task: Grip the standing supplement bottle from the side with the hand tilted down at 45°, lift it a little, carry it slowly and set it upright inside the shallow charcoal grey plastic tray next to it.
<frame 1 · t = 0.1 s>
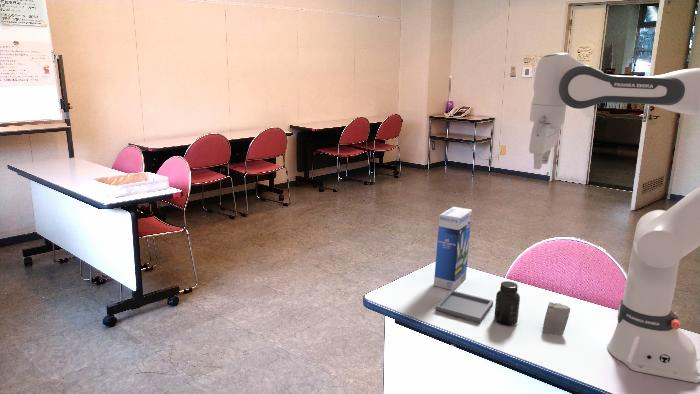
hand: (540, 166, 144), 48 cm above the table, tool pointing down, fingers open, 8 cm apart
mineral specimen: (552, 329, 154), on the table
string lights box: (449, 282, 184), on the table
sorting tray: (464, 308, 164), on the table
supplement bottle: (505, 321, 157), on the table
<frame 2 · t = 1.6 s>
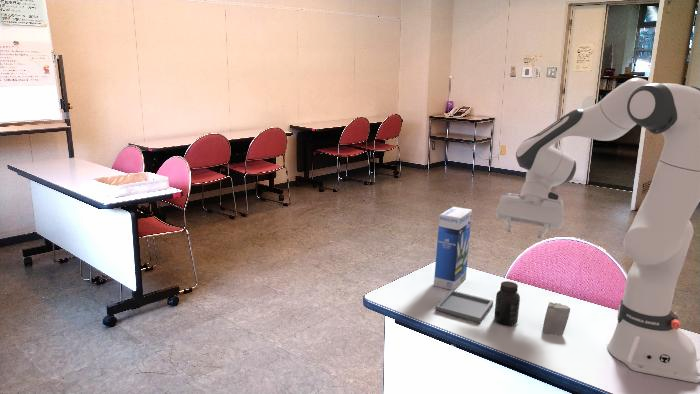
hand: (524, 234, 162), 24 cm above the table, tool tilted 45°, fingers open, 8 cm apart
nothing on the table moved.
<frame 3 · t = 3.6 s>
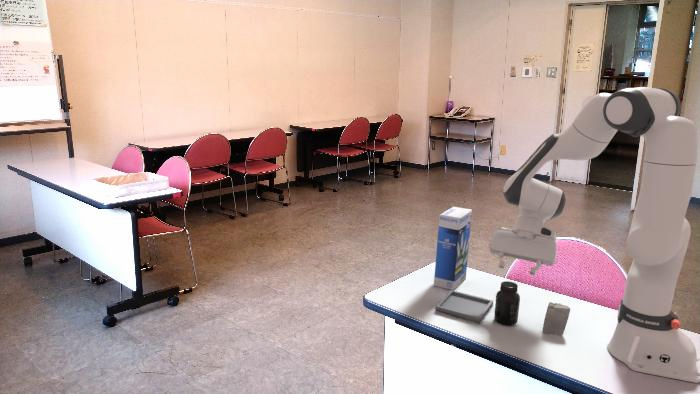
hand: (516, 270, 160), 14 cm above the table, tool tilted 45°, fingers open, 8 cm apart
nothing on the table moved.
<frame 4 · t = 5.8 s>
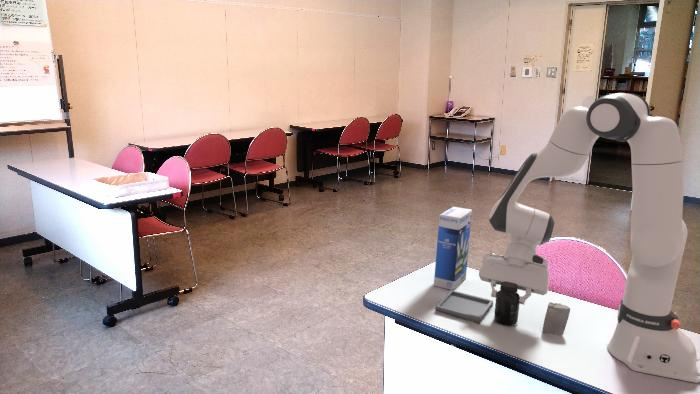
hand: (507, 299, 155), 7 cm above the table, tool tilted 45°, fingers closed on supplement bottle, 7 cm apart
supplement bottle: (505, 321, 157), on the table, touching gripper
everything else where it was.
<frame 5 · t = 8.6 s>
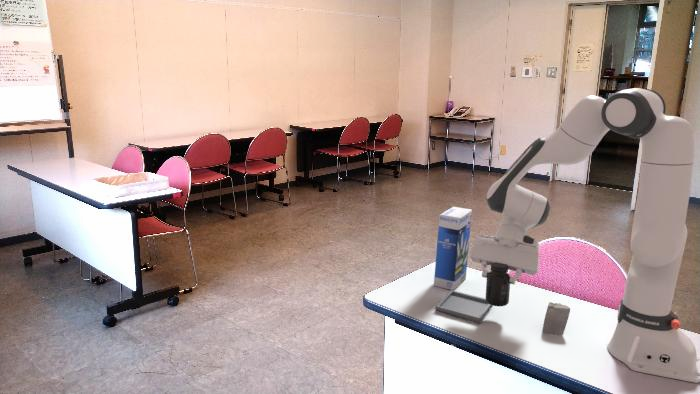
hand: (497, 280, 156), 13 cm above the table, tool tilted 45°, fingers closed on supplement bottle, 7 cm apart
supplement bottle: (496, 302, 158), point 5 cm above the table, touching gripper
everything else where it was.
when the fingers open (9 cm above the table, at t = 11.6 s): supplement bottle stays where it is, resting on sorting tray.
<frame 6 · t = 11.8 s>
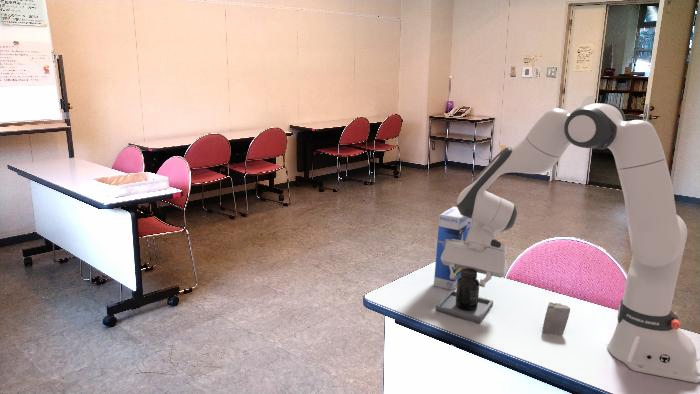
hand: (466, 282, 162), 9 cm above the table, tool tilted 45°, fingers open, 8 cm apart
supplement bottle: (466, 307, 164), point 1 cm above the table, touching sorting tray
everything else where it was.
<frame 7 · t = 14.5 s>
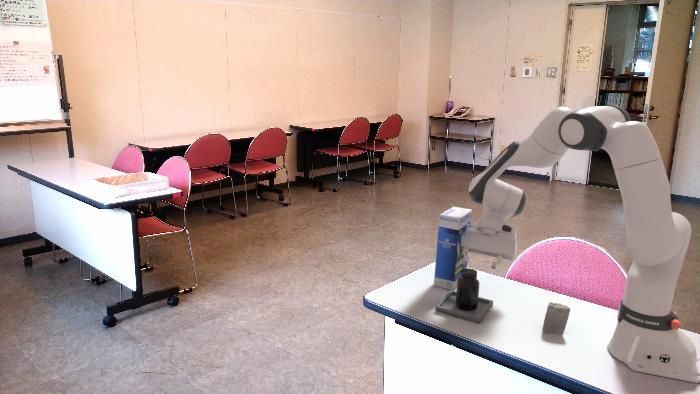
hand: (479, 265, 171), 11 cm above the table, tool tilted 45°, fingers open, 8 cm apart
nothing on the table moved.
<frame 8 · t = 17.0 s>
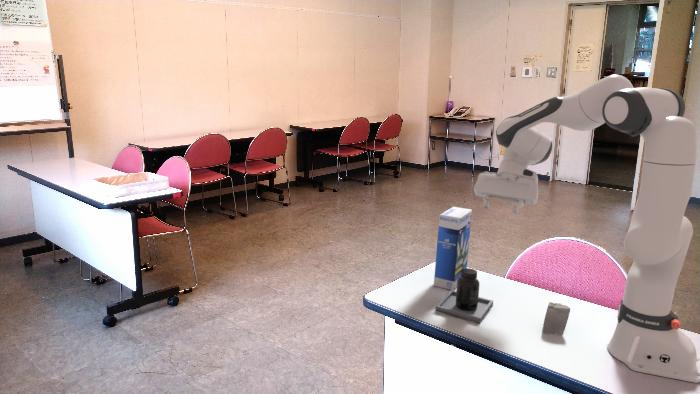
hand: (499, 210, 168), 29 cm above the table, tool tilted 45°, fingers open, 8 cm apart
nothing on the table moved.
at the end: supplement bottle inside the target area on the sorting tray (0.4 cm from its centre), point 0.6 cm above the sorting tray's base; supplement bottle tilted 0°; the gripper is holding nothing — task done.
